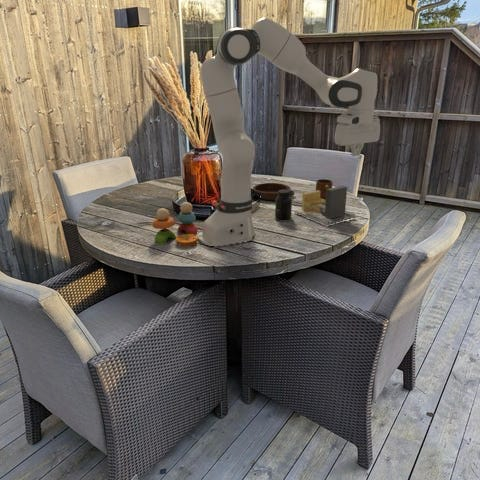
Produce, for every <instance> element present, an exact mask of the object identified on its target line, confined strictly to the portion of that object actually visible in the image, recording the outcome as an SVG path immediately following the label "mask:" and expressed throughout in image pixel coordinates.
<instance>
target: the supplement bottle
mask: <svg viewBox="0 0 480 480" xmlns="http://www.w3.org/2000/svg"><path fill="white" fill-rule="evenodd" d="M274 204H275V209H274V219H276V220H277V219H278V221H280V220H287V221H289V219H290V220H291V219H292V212H293V211H292V209H293V206H292V205H293V200H292V196H290V191H289V190H279V191H278V197H277V198H276V200H275V203H274Z"/></svg>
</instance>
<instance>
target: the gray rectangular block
mask: <svg viewBox="0 0 480 480" xmlns="http://www.w3.org/2000/svg"><path fill="white" fill-rule="evenodd" d="M347 193H348V186H346V185H340V186H335V187H332V188H330V189H327V190H326V203H325V204H324V205H325V210H322V211H321V214H322V215H324V216H325V217H327V218H330V219H331V218H335V217H339V216H343V215H345V210H346V205H347V204H346V203H347V196H348V195H347Z"/></svg>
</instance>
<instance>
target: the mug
mask: <svg viewBox="0 0 480 480" xmlns="http://www.w3.org/2000/svg"><path fill="white" fill-rule="evenodd" d="M315 182H316V183H315V191H317V190H319V191H320V198H321V199H324V200H326V190H327V189H330V188H333V180H331V179H328V178H327V179H325V178H323V179H317V180H316V181H315Z"/></svg>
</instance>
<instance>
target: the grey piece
mask: <svg viewBox="0 0 480 480" xmlns="http://www.w3.org/2000/svg"><path fill="white" fill-rule="evenodd" d="M325 202H326V200H324V199H321V198H320V191H319V190H317V191H316V190H313V191H310V192H309V191H308V192H303V193H302V201H301V208H298V209H295V210H294V214H295V213H297V214H300V215H303V216H305V217H308V218H310V219H313V220H315V221H318V222H321V223H323V224H325V225H329V224H333V223H336V222H340V221H343V220H347V219H351V218H355V219H356V214H355V213H354V212H351V211H348V210H346V209H345V215H343V216H339V217H335V218H331V219H330V218H327V217H325V216H324V215H322V214H321V211H322V210H325V205H326V203H325ZM297 214H296V215H297Z"/></svg>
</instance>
